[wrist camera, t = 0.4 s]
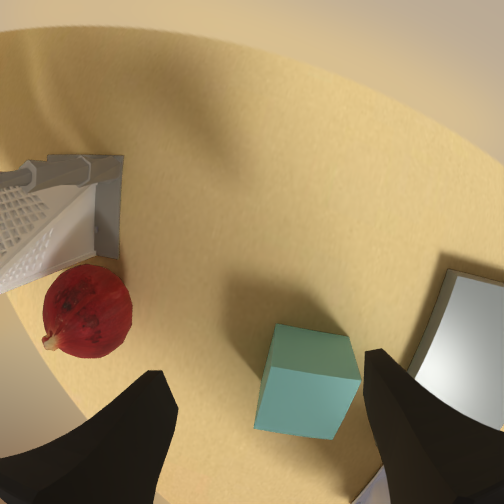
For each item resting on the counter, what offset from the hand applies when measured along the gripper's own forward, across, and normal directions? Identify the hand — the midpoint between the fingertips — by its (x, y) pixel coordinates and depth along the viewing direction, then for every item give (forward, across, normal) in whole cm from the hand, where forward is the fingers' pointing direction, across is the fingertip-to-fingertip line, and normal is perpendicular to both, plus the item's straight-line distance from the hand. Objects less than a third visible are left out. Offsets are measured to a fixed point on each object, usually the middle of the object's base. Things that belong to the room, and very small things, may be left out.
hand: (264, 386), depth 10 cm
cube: (+9, -1, +6) cm, 11 cm away
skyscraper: (+11, +13, -6) cm, 18 cm away
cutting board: (+8, -16, +10) cm, 21 cm away
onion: (+10, +11, 0) cm, 15 cm away
